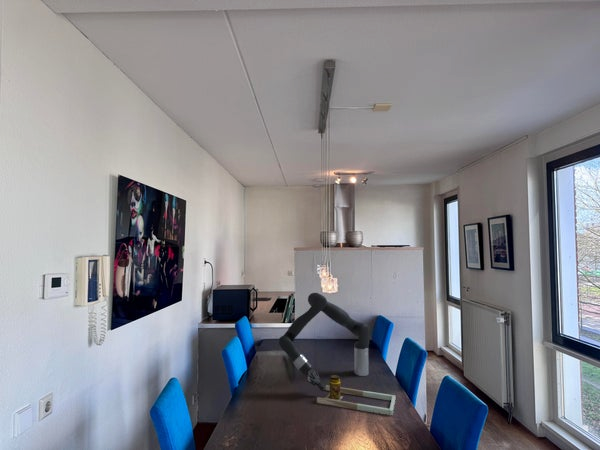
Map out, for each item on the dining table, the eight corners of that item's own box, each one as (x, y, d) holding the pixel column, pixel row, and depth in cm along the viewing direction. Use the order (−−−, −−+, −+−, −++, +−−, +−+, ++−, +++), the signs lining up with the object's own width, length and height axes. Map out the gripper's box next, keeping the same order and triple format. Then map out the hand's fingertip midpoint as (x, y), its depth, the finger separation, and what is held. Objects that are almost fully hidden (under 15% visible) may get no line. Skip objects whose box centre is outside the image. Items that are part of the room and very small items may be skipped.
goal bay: (363, 395, 193) (363, 390, 193) (395, 400, 187) (395, 395, 187) (357, 409, 176) (357, 404, 176) (392, 415, 169) (392, 410, 170)
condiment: (338, 402, 184) (338, 379, 185) (324, 398, 188) (324, 376, 189) (343, 397, 191) (343, 375, 191) (329, 393, 195) (329, 372, 196)
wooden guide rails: (326, 389, 201) (326, 385, 201) (363, 395, 193) (363, 390, 193) (316, 402, 183) (316, 398, 184) (357, 409, 176) (357, 404, 176)
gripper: (303, 363, 190) (324, 389, 185) (310, 356, 203) (330, 380, 198) (294, 372, 192) (315, 398, 187) (302, 364, 204) (321, 388, 199)
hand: (323, 389), depth 192 cm, fingers closed
